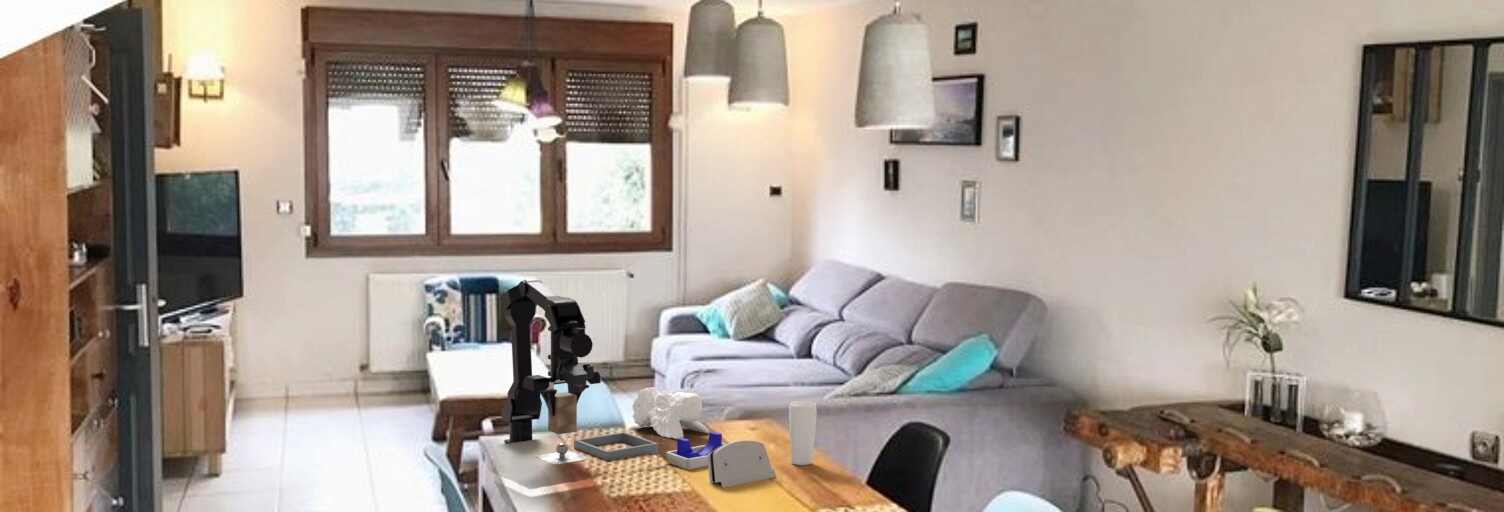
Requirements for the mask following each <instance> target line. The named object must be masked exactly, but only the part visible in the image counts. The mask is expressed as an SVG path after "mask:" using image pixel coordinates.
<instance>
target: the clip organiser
mask: <svg viewBox="0 0 1504 512" xmlns="http://www.w3.org/2000/svg"><path fill="white" fill-rule="evenodd" d="M724 444H725V443H723V442H722V445H724ZM705 445H706V444H704V445H699V446H698V445H697V446H691V448H692V450H693V451H694V452H699V451H701V450H702V449H703V448H704V447H705ZM707 456H708V455H706V456H701V457H695V458H689V459H688V458H685V457H682V456H679V455H677V449H675V450H669V451H665V459H666V460H669V461H672V463H670V464H671V465H672V466H673V465H674V466H676V467H679V468H682V469H684V470H687V471H688V470H689V471H690V470H693V469H700V468H704V467H708V458H707Z"/></svg>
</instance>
